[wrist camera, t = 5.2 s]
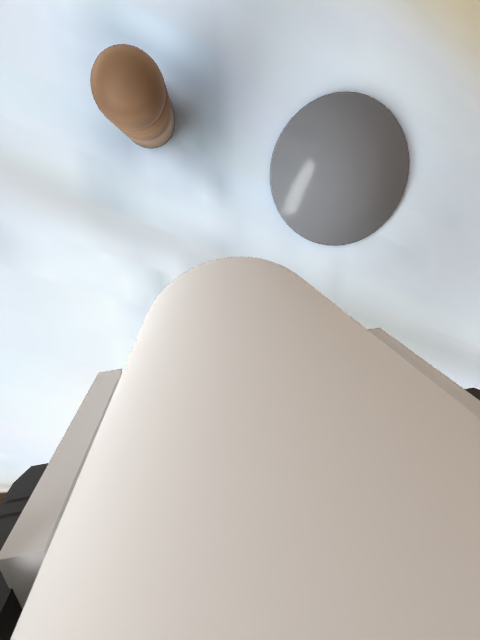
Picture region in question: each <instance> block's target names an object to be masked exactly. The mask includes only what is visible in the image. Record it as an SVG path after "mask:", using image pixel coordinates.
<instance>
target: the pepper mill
mask: <svg viewBox="0 0 480 640" xmlns="http://www.w3.org/2000/svg"><path fill="white" fill-rule="evenodd" d="M90 82H91V90H92V94H93V97H94V100H95V102H96V104H97V106H98V108H99V109H100V111H101V112H102V113H103V114H104V116H105V117H106V118H107V119H109V120H110V121H111V122H112V123H113V124H114V125H115V126H117V127H118V128H119V129H120V130H121V131H122V132H123V133H124V134H126V135H127V136H128V137H129V138H130V139H131V140H132V141H134V142H135V143H136V144H138V145H140V146H142V147H145V148H157V147H160V146H162V145H164V144H165V143H166V142H167V141H168V140H169V139H170V137H171V135H172V133H173V130H174V125H175V120H174V114H173V110H172V107H171V103H170V100H169V96H168V93H167V89H166V86H165V82H164V79H163V76H162V73H161V71H160V69H159V67H158V66H157V64H156V63H155V62H154V60H153V59H152V58H151V57H150V56H149V55H148V54H147V53H145V52H144V51H143V50H141V49H139V48H137V47H135V46H131V45H126V44H118V45H113V46H110V47H108V48H106V49H105V50H104V51H102V52H101V53H100V54H99V55H98V57H97V58H96V60H95V62H94V64H93V67H92V70H91V79H90Z"/></svg>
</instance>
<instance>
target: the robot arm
mask: <svg viewBox="0 0 480 640" xmlns="http://www.w3.org/2000/svg"><path fill="white" fill-rule="evenodd" d="M368 331H370V332H371V333H372V334H373V335H375V336H376V337H377V338H378V339H380V340H381V341H382V342H383V343H385V344H386V345H387V346H389V347H390V348H391V349H392V350H394V351H395V352H396V353H397V354H399V355H400V356H401V357H403V358H404V359H405V360H406V361H408V362H409V363H410V364H411V365H413V366H414V367H415V368H416V369H418V370H419V371H420V372H422V373H423V374H424V375H425V376H427V377H428V378H429V379H430V380H432V381H433V382H434V383H435V384H437V385H438V386H439V387H441V388H442V389H443V390H444V391H446V392H447V393H448V394H449V395H451V396H452V397H453V398H454V399H456V400H457V401H458V402H460V403H461V404H462V405H463V406H465V407H466V408H467V409H468V410H470V411H471V412H472V413H473V414H475V415H476V416H477V417H479V418H480V390H478V389H476V388H469V389H463V388H462V387H460V386H459V385H458V384H456V383H455V382H453V381H452V380H451V379H449V378H448V377H447V376H445V375H444V374H442V373H441V372H440V371H438V370H437V369H436V368H434V367H433V366H431V365H430V364H429V363H427V362H426V361H425V360H423V359H422V358H420V357H419V356H418V355H416V354H415V353H414V352H412V351H411V350H409V349H408V348H407V347H405V346H404V345H403V344H401V343H400V342H398V341H397V340H396V339H394V338H393V337H392V336H390V335H389V334H387V333H386V332H385V331H383V330H382V329H381V328H374V329H368ZM121 375H122V369H118V370H112V371H105V372H99V373H98V375H97V377H96V378H95V380H94V382H93V384H92V386H91V388H90V389H89V391H88V393H87V395H86V397H85V398H84V400H83V402H82V404H81V406H80V407H79V409H78V411H77V413H76V415H75V417H74V418H73V420H72V422H71V424H70V426H69V427H68V429H67V431H66V433H65V435H64V437H63V438H62V440H61V442H60V444H59V446H58V447H57V449H56V451H55V453H54V455H53V457H52V458H51V460H50V462H49V463H47V464H41V465H36V466H31V467H30V468H29V469H28V470H27V471H26V472H25V473H24V474H23V475H22V476H20V477H19V478H18V479H17V480H16V481H15V482H14V483H13V484H12V486H11V488H10V489H9V491H8V492H7V494H6V495H5V497H4V499H3V500H2V505H0V640H10V639H11V637H12V634H13V632H14V629H15V627H16V625H17V622H18V620H19V618H20V615H21V613H22V610H23V608H24V606H25V603H26V601H27V598H28V596H29V594H30V591H31V589H32V587H33V584H34V582H35V579H36V577H37V575H38V572H39V570H40V568H41V565H42V563H43V560H44V558H45V556H46V553H47V551H48V548H49V546H50V544H51V541H52V539H53V537H54V534H55V532H56V529H57V527H58V525H59V522H60V520H61V518H62V515H63V513H64V510H65V508H66V506H67V503H68V501H69V498H70V496H71V494H72V491H73V489H74V487H75V484H76V482H77V479H78V477H79V475H80V472H81V470H82V468H83V465H84V463H85V460H86V458H87V456H88V453H89V451H90V448H91V446H92V444H93V441H94V439H95V437H96V434H97V432H98V429H99V427H100V425H101V422H102V420H103V418H104V415H105V413H106V410H107V408H108V406H109V403H110V401H111V399H112V396H113V394H114V391H115V389H116V387H117V384H118V382H119V379H120V377H121Z"/></svg>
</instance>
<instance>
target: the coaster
mask: <svg viewBox="0 0 480 640" xmlns="http://www.w3.org/2000/svg"><path fill="white" fill-rule="evenodd" d="M408 171H409V153H408V147H407V142H406V139H405V135H404V133H403V130H402V128H401V126H400V124H399V123H398V121H397V119H396V118H395V116H394V115H393V114H392V113H391V112H390V110H389V109H387V108H386V107H385V106H384V105H383V104H382V103H380V102H379V101H377V100H375V99H374V98H371V97H369V96H367V95H364V94H360V93H355V92H337V93H332V94H328V95H325V96H322V97H320V98H318V99H316V100H314V101H312V102H310V103H309V104H307V105H306V106H305V107H303V108H302V109H301V110H300V111H299V112H297V113H296V114H295V115H294V116H293V117H292V118H291V120H290V121H289V122H288V123H287V125H286V126H285V128H284V129H283V131H282V132H281V134H280V136H279V138H278V140H277V143H276V145H275V148H274V151H273V154H272V159H271V165H270V186H271V192H272V196H273V199H274V203H275V205H276V207H277V209H278V212H279V213H280V215H281V217H282V218H283V220H284V221H285V222H286V223H287V225H288V226H289V227H290V228H291V229H293V230H294V231H295V232H296V233H297V234H299V235H300V236H302V237H304V238H306V239H308V240H310V241H313V242H316V243H319V244H324V245H335V246H336V245H345V244H350V243H353V242H356V241H359V240H361V239H363V238H365V237H367V236H369V235H370V234H372V233H373V232H375V231H376V230H377V229H378V228H380V227H381V226H382V225H383V224H384V223H385V222H386V221H387V220H388V218H389V217H390V216H391V215H392V213H393V212H394V210H395V209H396V207H397V205H398V204H399V202H400V200H401V197H402V195H403V193H404V189H405V186H406V183H407V178H408Z"/></svg>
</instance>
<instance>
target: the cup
mask: <svg viewBox="0 0 480 640" xmlns="http://www.w3.org/2000/svg"><path fill="white" fill-rule="evenodd" d="M10 640H480V418H479V417H477V416H476V415H475V414H473V413H472V412H471V411H470V410H468V409H467V408H466V407H465V406H463V405H462V404H461V403H460V402H458V401H457V400H456V399H454V398H453V397H452V396H451V395H449V394H448V393H447V392H446V391H444V390H443V389H442V388H441V387H439V386H438V385H437V384H435V383H434V382H433V381H432V380H430V379H429V378H428V377H427V376H425V375H424V374H423V373H422V372H420V371H419V370H418V369H416V368H415V367H414V366H413V365H411V364H410V363H409V362H408V361H406V360H405V359H404V358H403V357H401V356H400V355H399V354H397V353H396V352H395V351H394V350H392V349H391V348H390V347H389V346H387V345H386V344H385V343H383V342H382V341H381V340H380V339H378V338H377V337H376V336H375V335H373V334H372V333H371V332H370V331H368V330H367V329H366V328H364V327H363V326H362V325H361V324H359V323H358V322H357V321H356V320H354V319H353V318H352V317H351V316H349V315H348V314H347V313H345V312H344V311H343V310H342V309H340V308H339V307H338V306H337V305H335V304H334V303H333V302H332V301H330V300H329V299H328V298H326V297H325V296H324V295H323V294H321V293H320V292H319V291H318V290H316V289H315V288H314V287H313V286H311V285H310V284H309V283H307V282H306V281H305V280H304V279H302V278H301V277H300V276H299V275H297V274H296V273H294V272H293V271H291V270H289V269H288V268H286V267H284V266H282V265H279V264H277V263H274V262H271V261H267V260H264V259H259V258H253V257H228V258H221V259H216V260H212V261H209V262H206V263H203V264H200V265H198V266H196V267H194V268H192V269H190V270H188V271H186V272H185V273H183V274H181V275H180V276H179V277H177V278H176V279H175V280H173V281H172V282H171V283H170V284H169V285H168V286H167V287H166V288H165V289H164V290H163V291H162V292H161V293H160V294H159V296H158V297H157V298H156V300H155V301H154V302H153V304H152V306H151V308H150V309H149V311H148V313H147V315H146V318H145V320H144V322H143V325H142V327H141V329H140V332H139V334H138V337H137V339H136V341H135V344H134V346H133V349H132V351H131V353H130V356H129V358H128V360H127V363H126V365H125V368H124V370H123V372H122V375H121V377H120V379H119V382H118V384H117V387H116V389H115V391H114V394H113V396H112V399H111V401H110V403H109V406H108V408H107V410H106V413H105V415H104V418H103V420H102V422H101V425H100V427H99V429H98V432H97V434H96V437H95V439H94V441H93V444H92V446H91V448H90V451H89V453H88V456H87V458H86V460H85V463H84V465H83V468H82V470H81V472H80V475H79V477H78V479H77V482H76V484H75V487H74V489H73V491H72V494H71V496H70V498H69V501H68V503H67V506H66V508H65V510H64V513H63V515H62V518H61V520H60V522H59V525H58V527H57V529H56V532H55V534H54V537H53V539H52V541H51V544H50V546H49V548H48V551H47V553H46V556H45V558H44V560H43V563H42V565H41V568H40V570H39V572H38V575H37V577H36V579H35V582H34V584H33V587H32V589H31V591H30V594H29V596H28V598H27V601H26V603H25V606H24V608H23V610H22V613H21V615H20V618H19V620H18V622H17V625H16V627H15V629H14V632H13V634H12V637H11V639H10Z"/></svg>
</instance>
